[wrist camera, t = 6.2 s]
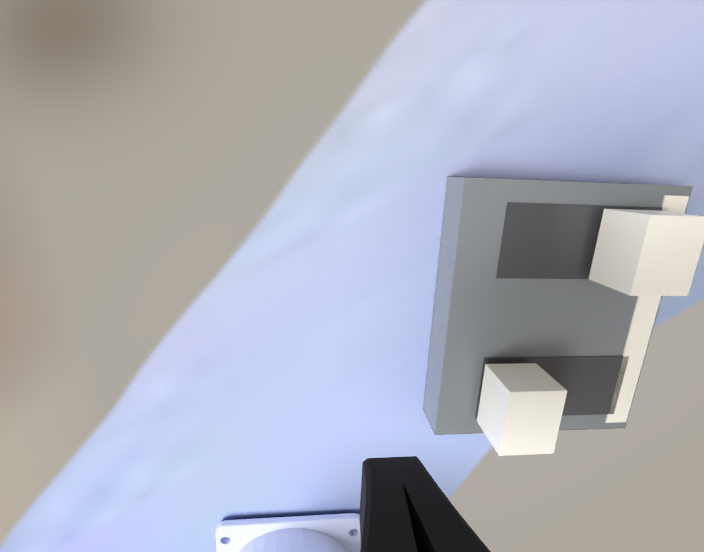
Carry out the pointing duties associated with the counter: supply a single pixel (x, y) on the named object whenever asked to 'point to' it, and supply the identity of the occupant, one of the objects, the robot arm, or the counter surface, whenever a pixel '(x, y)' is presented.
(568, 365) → the switch panel
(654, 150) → the counter surface
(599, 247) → the switch tab
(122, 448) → the counter surface
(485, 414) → the switch tab
